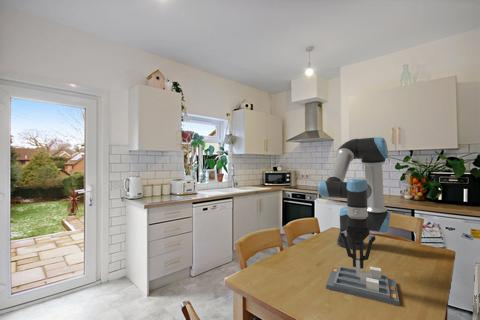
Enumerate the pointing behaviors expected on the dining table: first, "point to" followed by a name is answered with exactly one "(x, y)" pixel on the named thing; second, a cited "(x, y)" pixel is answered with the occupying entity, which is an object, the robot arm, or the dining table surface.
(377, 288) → the tab
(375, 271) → the tab
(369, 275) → the tab
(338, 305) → the dining table surface
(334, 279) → the switch board
